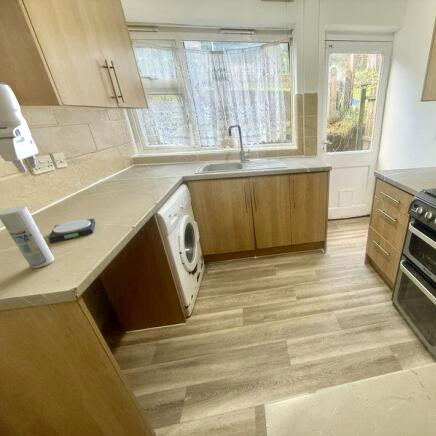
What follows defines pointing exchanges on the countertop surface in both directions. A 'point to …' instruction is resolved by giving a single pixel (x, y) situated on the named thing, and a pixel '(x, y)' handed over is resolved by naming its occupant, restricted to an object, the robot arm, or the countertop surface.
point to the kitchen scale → (72, 230)
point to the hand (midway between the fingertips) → (29, 169)
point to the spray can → (27, 236)
